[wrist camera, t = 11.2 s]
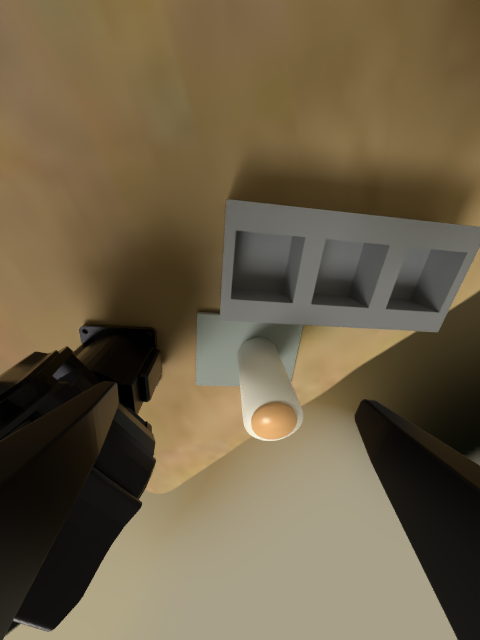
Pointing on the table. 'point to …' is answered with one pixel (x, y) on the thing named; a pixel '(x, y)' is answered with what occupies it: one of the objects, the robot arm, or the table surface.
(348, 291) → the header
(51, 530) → the robot arm
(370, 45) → the table surface
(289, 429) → the plug
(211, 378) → the mat
